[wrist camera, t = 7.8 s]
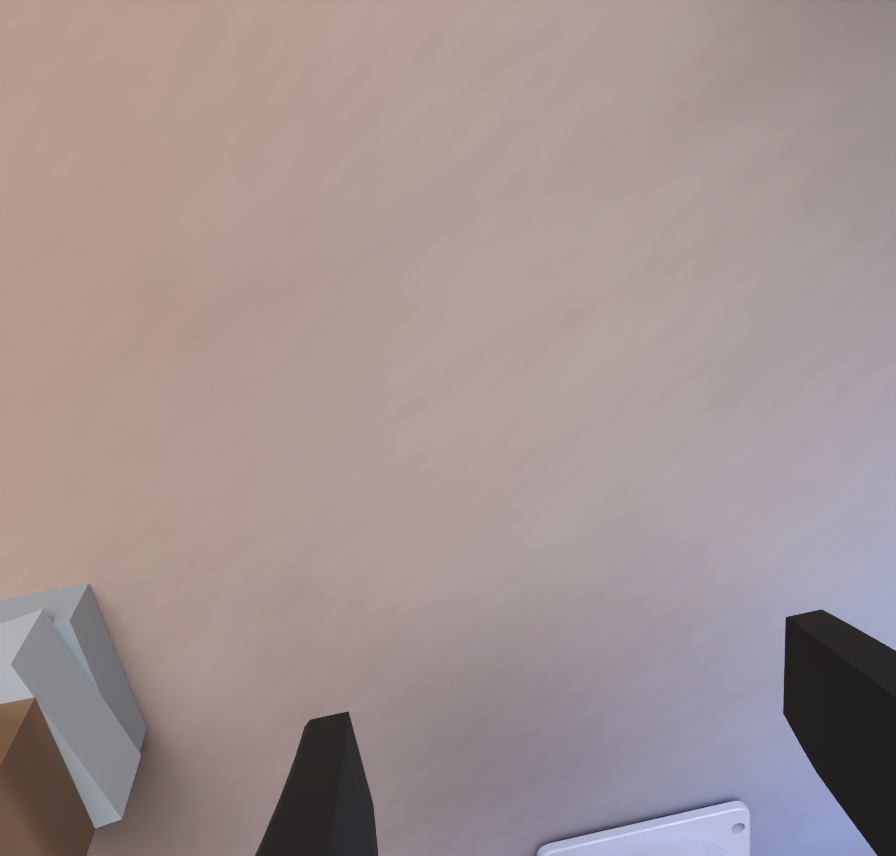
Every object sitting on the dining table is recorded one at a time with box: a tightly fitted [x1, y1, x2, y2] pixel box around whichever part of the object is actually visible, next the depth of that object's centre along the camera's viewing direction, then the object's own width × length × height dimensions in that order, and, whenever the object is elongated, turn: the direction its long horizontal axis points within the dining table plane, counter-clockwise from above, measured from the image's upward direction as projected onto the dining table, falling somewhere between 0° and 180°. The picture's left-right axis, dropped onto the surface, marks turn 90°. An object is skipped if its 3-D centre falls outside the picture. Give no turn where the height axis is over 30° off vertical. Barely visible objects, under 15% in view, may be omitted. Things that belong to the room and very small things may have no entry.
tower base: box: [0, 583, 147, 753], centre depth 22 cm, size 6×6×2 cm
